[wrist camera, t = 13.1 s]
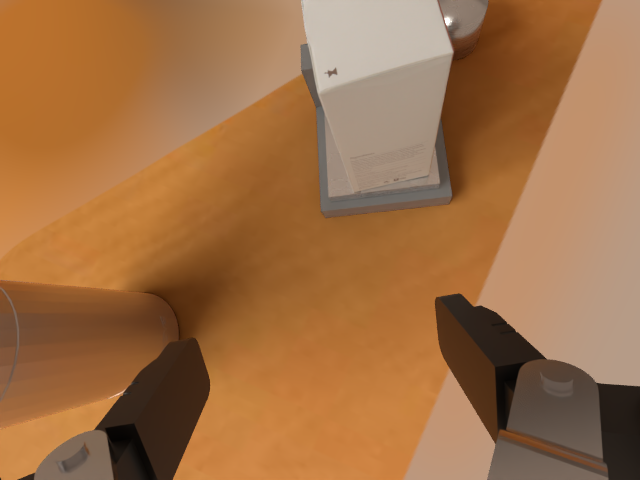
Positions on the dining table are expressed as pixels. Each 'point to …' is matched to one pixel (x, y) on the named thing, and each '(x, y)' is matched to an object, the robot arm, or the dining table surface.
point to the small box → (380, 83)
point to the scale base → (377, 202)
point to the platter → (343, 191)
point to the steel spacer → (464, 23)
